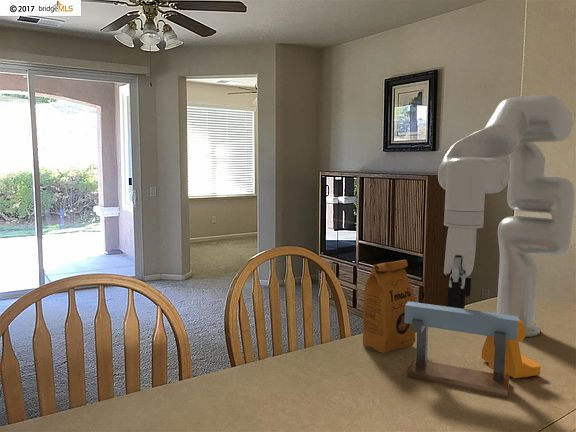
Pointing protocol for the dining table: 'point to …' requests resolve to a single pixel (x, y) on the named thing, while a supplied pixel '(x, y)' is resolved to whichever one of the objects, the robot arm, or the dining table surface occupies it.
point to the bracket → (512, 356)
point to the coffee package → (387, 308)
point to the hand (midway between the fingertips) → (459, 301)
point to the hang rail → (462, 319)
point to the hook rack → (458, 375)
